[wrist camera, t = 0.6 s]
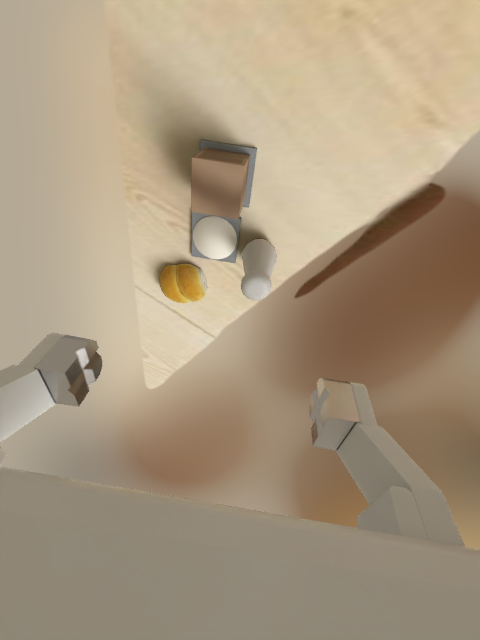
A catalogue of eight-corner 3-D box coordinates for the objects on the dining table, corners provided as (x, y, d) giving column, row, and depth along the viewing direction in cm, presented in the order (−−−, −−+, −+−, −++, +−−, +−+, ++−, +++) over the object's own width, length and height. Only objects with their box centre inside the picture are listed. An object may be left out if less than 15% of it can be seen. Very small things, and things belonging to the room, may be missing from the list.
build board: (193, 209, 46) (191, 211, 46) (241, 217, 46) (240, 219, 45) (192, 254, 51) (191, 256, 51) (235, 261, 51) (235, 263, 51)
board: (201, 139, 40) (191, 145, 35) (257, 148, 40) (254, 155, 35) (199, 198, 45) (190, 209, 41) (249, 206, 45) (245, 218, 40)
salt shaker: (239, 257, 51) (228, 298, 41) (250, 228, 47) (242, 265, 37) (269, 269, 51) (266, 312, 41) (282, 241, 48) (283, 281, 38)
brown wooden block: (205, 147, 40) (191, 157, 34) (250, 154, 40) (244, 165, 34) (203, 194, 44) (191, 211, 38) (244, 201, 44) (238, 219, 38)
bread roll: (156, 265, 54) (148, 275, 51) (200, 258, 52) (195, 269, 49) (171, 300, 59) (165, 312, 56) (212, 296, 57) (208, 307, 54)
